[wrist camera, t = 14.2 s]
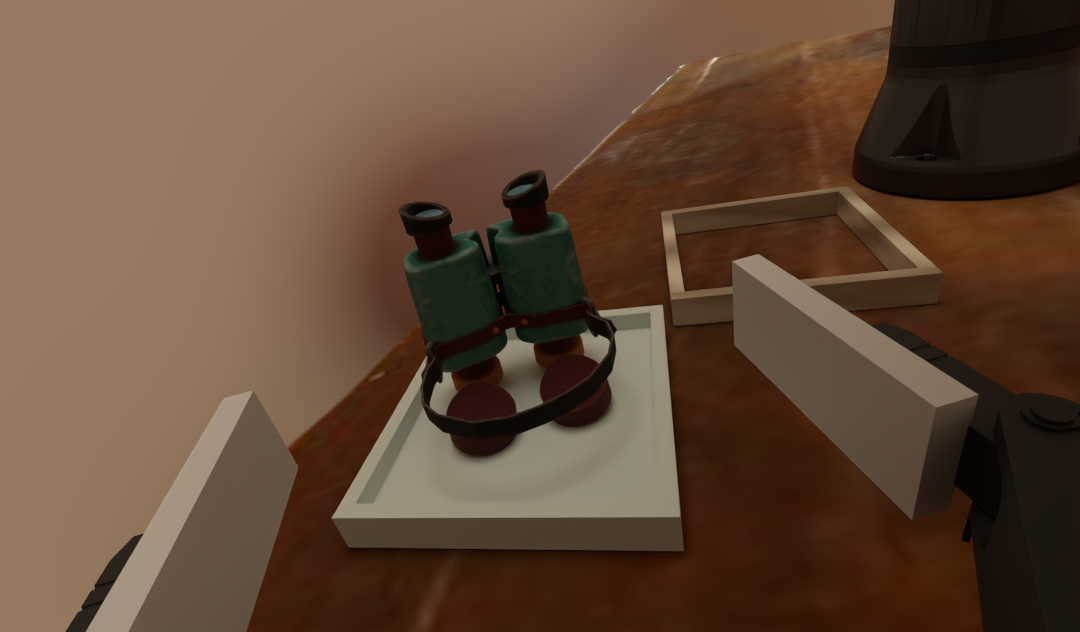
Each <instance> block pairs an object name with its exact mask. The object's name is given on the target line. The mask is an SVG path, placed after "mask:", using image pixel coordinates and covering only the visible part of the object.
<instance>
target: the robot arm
mask: <svg viewBox="0 0 1080 632" xmlns="http://www.w3.org/2000/svg"><path fill="white" fill-rule="evenodd" d="M852 172H853V175H854V177H855V178H856V179H857V180H859V181H860V182H862V183H864V184H866V185H868V186H871V187H874V188H877V189H880V190H884V191H888V192H893V193H899V194H905V195H913V196H923V197H937V198H984V197H1000V196H1010V195H1019V194H1026V193H1033V192H1038V191H1043V190H1048V189H1053V188H1056V187H1060V186H1063V185H1067V184H1070V183H1072V182H1075V181H1077V180H1079V179H1080V0H895V6H894V14H893V22H892V30H891V38H890V49H889V57H888V66H887V73H886V76H885V79H884V81H883V84H882V86H881V88H880V90H879V93H878V95H877V97H876V99H875V102H874V104H873V106H872V109H871V111H870V113H869V115H868V118H867V120H866V122H865V124H864V127H863V129H862V131H861V133H860V136H859V138H858V140H857V142H856V145H855V149H854V160H853V171H852ZM732 272H733V313H734V345H735V346H736V347H737V348H738V349H739V350H740V351H741V352H742V353H743V354H744V355H745V356H746V357H747V358H748V359H749V360H750V361H751V362H752V363H753V364H754V365H755V366H756V367H757V368H758V369H759V370H760V371H761V372H762V373H763V374H765V375H766V376H767V377H768V378H769V379H770V380H771V381H772V382H773V383H774V384H775V385H776V386H777V387H778V388H779V389H780V390H781V391H782V392H783V393H784V394H785V395H786V396H787V397H788V398H789V399H790V400H791V401H792V402H793V403H794V404H795V405H796V406H797V407H798V408H799V409H800V410H801V411H802V412H803V413H804V414H805V415H806V416H807V417H808V418H809V419H810V420H811V421H812V422H813V423H814V424H815V425H816V426H817V427H818V428H819V429H820V430H821V431H822V432H823V433H824V434H825V435H826V436H827V437H828V438H829V439H830V440H831V441H832V442H833V443H834V444H835V445H836V446H837V447H838V448H839V449H840V450H841V451H842V452H843V453H844V454H845V455H846V456H847V457H848V458H849V459H850V460H851V461H852V462H853V463H855V464H856V465H857V466H858V467H859V468H860V469H861V470H862V471H863V472H864V473H865V474H866V475H867V476H868V477H869V478H870V479H871V480H872V481H873V482H874V483H875V484H876V485H877V486H878V487H879V488H880V489H881V490H882V491H883V492H884V493H885V494H886V495H887V496H888V497H889V498H890V499H891V500H892V501H893V502H894V503H895V504H896V505H897V506H898V507H899V508H900V509H901V510H902V511H903V512H904V513H905V514H906V515H907V516H908V517H909V518H910V519H911V520H914V519H917V518H921V517H924V516H927V515H930V514H934V513H937V512H940V511H943V510H946V509H949V507H950V503H951V499H952V495H953V492H954V488H955V486H956V487H958V488H959V489H960V490H961V491H962V492H963V493H965V494H966V495H967V496H968V497H969V498H971V499H972V500H973V501H972V504H971V507H970V511H969V514H968V518H967V521H966V525H965V528H964V532H963V536H962V541H965V542H969V541H970V538H971V534H972V539H973V548H974V556H975V564H976V572H977V580H978V589H979V597H980V605H981V613H982V622H983V630H984V632H1080V404H1077V403H1075V402H1072V401H1070V400H1067V399H1064V398H1061V397H1056V396H1051V395H1046V394H1034V393H1023V394H1018V395H1015V394H1014V393H1012V392H1010V391H1009V390H1007V389H1005V388H1004V387H1002V386H1000V385H999V384H997V383H995V382H994V381H992V380H990V379H989V378H987V377H985V376H983V375H982V374H980V373H978V372H977V371H975V370H973V369H972V368H970V367H968V366H967V365H965V364H963V363H962V362H960V361H958V360H957V359H955V358H953V357H948V355H947V353H945V352H943V351H942V350H940V349H938V348H937V347H935V346H933V347H931V345H930V343H928V342H927V341H925V340H923V339H922V338H920V337H918V336H917V335H915V334H913V333H912V332H910V331H907V330H904V329H901V328H898V327H895V326H892V325H889V324H885V323H880V324H876V325H873V326H870V325H869V324H867V323H865V322H864V321H862V320H861V319H859V318H858V317H856V316H854V315H853V314H851V313H850V312H848V311H847V310H845V309H843V308H842V307H840V306H839V305H837V304H836V303H834V302H833V301H831V300H829V299H828V298H826V297H825V296H823V295H822V294H820V293H818V292H817V291H815V290H814V289H812V288H811V287H809V286H807V285H806V284H804V283H803V282H801V281H800V280H798V279H797V278H795V277H793V276H792V275H790V274H789V273H787V272H786V271H784V270H782V269H781V268H779V267H778V266H776V265H775V264H773V263H771V262H770V261H768V260H767V259H765V258H764V257H762V256H760V255H759V254H757V255H754V256H750V257H746V258H742V259H739V260H735V261H732ZM297 470H298V465H297V464H296V462H295V460H294V459H293V457H292V455H291V453H290V452H289V450H288V448H287V447H286V445H285V443H284V442H283V440H282V438H281V437H280V435H279V433H278V431H277V430H276V428H275V426H274V425H273V423H272V421H271V419H270V418H269V416H268V414H267V413H266V411H265V409H264V407H263V406H262V405H261V402H260V401H259V399H258V397H257V396H256V394H255V392H254V391H249V392H246V393H242V394H239V395H235V396H231V397H227V398H224V399H223V400H222V402H221V404H220V406H219V408H218V409H217V411H216V413H215V414H214V416H213V417H212V419H211V421H210V423H209V424H208V426H207V428H206V429H205V431H204V433H203V434H202V436H201V438H200V439H199V441H198V443H197V444H196V446H195V448H194V450H193V451H192V453H191V455H190V456H189V458H188V460H187V461H186V463H185V465H184V467H183V468H182V470H181V472H180V473H179V475H178V477H177V478H176V480H175V482H174V484H173V485H172V487H171V488H170V490H169V492H168V494H167V495H166V497H165V499H164V500H163V502H162V504H161V505H160V507H159V509H158V510H157V512H156V514H155V516H154V517H153V519H152V521H151V522H150V524H149V526H148V527H147V529H146V531H145V533H144V534H141V535H137V536H134V537H133V538H132V539H131V540H130V541H129V542H128V543H127V544H126V545H125V546H124V547H123V548H122V549H121V550H120V551H119V552H118V553H117V554H116V555H115V556H114V557H113V558H112V559H111V560H110V562H109V563H108V565H107V566H106V568H105V570H104V571H103V573H102V574H101V576H100V578H99V579H98V581H97V583H96V584H95V590H93V591H91V592H90V594H89V595H88V597H87V599H86V600H85V602H84V603H83V605H82V611H81V612H78V613H77V615H76V616H75V618H74V619H73V621H72V623H71V624H70V626H69V627H68V629H67V630H66V632H246V631H247V627H248V624H249V621H250V618H251V615H252V612H253V609H254V605H255V602H256V599H257V596H258V593H259V590H260V586H261V583H262V580H263V577H264V574H265V571H266V568H267V564H268V561H269V558H270V555H271V552H272V549H273V546H274V542H275V539H276V536H277V533H278V530H279V527H280V523H281V520H282V517H283V514H284V511H285V508H286V505H287V501H288V498H289V495H290V492H291V489H292V486H293V483H294V479H295V476H296V473H297Z"/></svg>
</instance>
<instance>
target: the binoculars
mask: <svg viewBox="0 0 1080 632" xmlns="http://www.w3.org/2000/svg"><path fill="white" fill-rule="evenodd" d="M501 196H502V200H503V204H504V206H505V207H507V208H509V209H510V211H511V216H512V219H510V220H506V221H502V222H499V223H495V224H492V225H489V226H488V227H487V237H488V242H489V247H490V252H491V254H489V255H486V252H485V249H484V247H483V243H482V240H481V238H480V235H479V233H478V231H477V230H475V229H474V230H469V231H466V232H462V233H458V234H454V235H451V231H450V228H449V225H450V224H451V222H452V217H451V213H450V210H449V209H448V208H447V207H445V206H443V205H441V204H437V203H432V202H414V203H408V204H405V205H403V206H401V207H400V208H399V213H400V216H401V219H402V221H403V224H404V227H405V229H406V232H407V234H409V235H410V236H414V239H415V242H416V244H417V247H418V248H416V249H414V250H412V251H411V252H410V253H409V254H407V255H406V257H405V258H404V269H405V274H406V278H407V281H408V285H409V287H410V291H411V294H412V297H413V301H414V304H415V307H416V310H417V314H418V316H419V320H420V323H421V326H422V327H421V332H422V337H423V340H422V344H423V345H424V346H426V348H425V352H426V355H427V358H426V365H425V368H424V370H423V372H422V374H421V377H422V383H421V386H420V390H421V403H422V406H423V408H424V410H425V413H426V415H427V417H428V419H429V421H431V422H432V423H433V424H434V425H435V426H436V427H438V428H439V429H440V430H441V431H442V432H444V433H448V434H450V437H451V441H452V442H453V444H454V446H455V447H456V448H457V449H459V450H460V451H462V452H464V453H465V454H469V455H472V456H487V455H491V454H494V453H497V452H499V451H501V450H503V449H505V448H506V447H507V446H508V445H510V443H511V442H512V441H513V440H514V438H515V436H516V435H517V434H520V433H523V432H525V431H528V430H531V429H534V428H536V427H539V426H542V425H544V424H547V423H549V422H551V421H553V420H554V421H555V422H556V423H558V424H560V425H563V426H566V427H581V426H584V425H588V424H590V423H592V422H594V421H596V420H597V419H598V418H600V417H601V416H602V415H603V414H604V413H605V412H606V410H607V409H608V407H609V405H610V402H611V398H612V391H611V388H610V385H609V382H608V379H607V378H608V376H609V375H610V374H611V372H612V371H613V366H614V361H615V356H616V343H615V336H614V335H615V333H616V331H617V329H616V327H615V326H614V324H613V322H612V321H611V320H610V319H606V318H603V317H601V316H600V314H599V313H598V311H597V309H595V306H594V303H593V301H592V300H591V299H589V298H590V294H589V293H588V291H587V289H586V287H585V285H584V283H583V280H582V276H581V271H580V267H579V263H578V258H577V254H576V250H575V246H574V241H573V237H572V233H571V230H570V227H569V224H568V222H567V220H566V218H565V217H564V216H563V215H561V214H559V213H547V210H546V204H545V201H546V200H547V199H548V197H549V193H548V188H547V182H546V176H545V172H544V171H542V170H534V171H529V172H527V173H525V174H522V175H520V176H519V177H517V178H516V179H514V180H513V181H511V182H510V183H509V184H508V185H507V186H506V187H505V188H504V190H503V191H502V194H501ZM496 284H498V286H499V290H500V292H497V288H496ZM501 306H504V308H505V312H506V314H505V315H504V314H503V311H502V307H501ZM509 328H515V332H516V335H517V337H518V338H519V340H521V341H523V342H527V343H534V345H533V349H534V354H535V359H536V362H537V364H538V365H540V366H541V367H543V368H546V370H545V372H544V374H543V376H542V379H541V383H540V390H539V392H540V397H541V399H542V401H543V403H542V404H540V405H538V406H535V407H532V408H530V409H527V410H524V411H521V412H519V413H517V410H516V403H515V401H514V399H513V397H512V396H511V395H510V394H509V393H508V392H507V391H506V390H505V389H503V388H502V387H500V386H498V384H499V382H500V381H501V379H502V377H503V374H504V373H503V369H502V366H501V363H500V360H499V358H498V357H497V356H496V355H497V354H498V353H500V352H501V351H502V350H503V349H504V348H505V347H506V345H507V341H508V340H507V334H506V331H505V330H507V329H509ZM588 329H589V330H590V332H591V333H592V335H593V336H594V337H598V335H600V336H602V337H605V338H607V339H608V340H609V342H610V344H609V348H608V353H607V355H606V356H605V357H604V358H603V359H602V361H601V362H600V363H598V362H597V361H595V360H593V359H591V358H589V357H586V356H584V353H585V352H584V346H583V342H582V337H581V336H580V334H582V333H584V332H586V331H587V330H588ZM443 372H446V373H448V372H451V377H452V380H453V383H454V386H455V389H456V390H457V391H458V393H456V395H455V396H454V397H453V399H452V400H451V402H450V404H449V406H448V409H447V412H446V415H442V414H438V413H437V412H435V411H434V410H433V409H432V408H430V400H431V397H432V393H433V390H434V386H435V384H436V383H437V382H438V383H442V381H443Z"/></svg>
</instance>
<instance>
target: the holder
mask: <svg viewBox="0 0 1080 632" xmlns="http://www.w3.org/2000/svg"><path fill="white" fill-rule="evenodd" d="M835 214H837V215H838V216H839V217H840V218H841V219H842V220H843V222H844V223H845V224H846V225H847V226H848V227H849V228H850V229H851V230H852V231H853V232H854V233H855V235H856V236H857V237H858V238H859V239H860V240H861V241H862V242H863V243H864V244H865V245H866V246H867V248H868V249H869V250H870V251H871V252H872V253H873V254H874V255H875V256H876V257H877V258H878V259H879V261H880V262H881V263H882V264H883V265H884V266H885V267H886V268H887V269H888V270H889V271H883V272H874V273H864V274H854V275H844V276H834V277H824V278H814V279H804V280H800V281H801V282H803V283H804V284H806V285H807V286H809V287H811V288H812V289H814V290H815V291H817V292H818V293H820V294H822V295H823V296H825V297H826V298H828V299H829V300H831V301H833V302H834V303H836V304H837V305H839V306H840V307H842V308H843V309H845V310H847V311H855V310H866V309H878V308H889V307H901V306H912V305H924V304H935V303H938V298H939V293H940V288H941V283H942V277H943V272H942V271H941V270H940V269H938V268H937V267H936V266H935V265H934V264H933V263H932V262H931V261H929V260H928V259H927V258H926V257H925V256H924V255H923V254H922V253H921V252H919V251H918V250H917V249H916V248H915V247H914V246H913V245H912V244H911V243H909V242H908V241H907V240H906V239H905V238H904V237H903V236H902V235H901V234H899V233H898V232H897V231H896V230H895V229H894V228H893V227H892V226H891V225H889V224H888V223H887V222H886V221H885V220H884V219H883V218H882V217H881V216H879V215H878V214H877V213H876V212H875V211H874V210H873V209H872V208H871V207H869V206H868V205H867V204H866V203H865V202H864V201H863V200H862V199H860V198H859V197H858V196H857V195H856V194H855V193H854V192H853V191H852V190H850V189H849V188H848V187H847V186H845V187H838V188H831V189H824V190H816V191H809V192H802V193H794V194H787V195H780V196H773V197H765V198H758V199H751V200H743V201H736V202H729V203H722V204H714V205H707V206H700V207H692V208H685V209H678V210H671V211H663V212H661V217H662V227H663V237H664V246H665V255H666V264H667V273H668V282H669V291H670V299H671V308H672V317H673V326H681V325H693V324H705V323H716V322H728V321H734V313H733V287H725V288H715V289H706V290H696V291H686V292H684V286H683V280H682V274H681V268H680V261H679V255H678V249H677V243H676V237H675V235H677V234H685V233H693V232H701V231H709V230H717V229H725V228H732V227H740V226H748V225H756V224H764V223H772V222H780V221H788V220H796V219H804V218H812V217H819V216H827V215H835Z"/></svg>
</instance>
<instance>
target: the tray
mask: <svg viewBox="0 0 1080 632" xmlns="http://www.w3.org/2000/svg"><path fill="white" fill-rule="evenodd" d="M598 313H599V314H600V316H601V317H603V318H606V319H610V320H611V321H612V322H613V324H614V326H615V327H616V329H617V331H616V333H615V335H614V336H615V343H616V356H615V361H614V366H613V371H612V372H611V374H610V375H609V376H608V378H607V379H608V382H609V385H610V388H611V391H612V398H611V402H610V405H609V407H608V409H607V410H606V412H605V413H604V414H603V415H602V416H601V417H600V418H598V419H597V420H596V421H594V422H592V423H590V424H588V425H584V426H581V427H566V426H563V425H560V424H558V423H556V422H555V421H554V420H553V421H551V422H549V423H547V424H544V425H542V426H539V427H536V428H534V429H531V430H528V431H525V432H523V433H520V434H517V435H516V436H515V438H514V440H513V441H512V442H511V443H510V445H508V446H507V447H506V448H505V449H503V450H501V451H499V452H497V453H494V454H491V455H487V456H472V455H469V454H465V453H464V452H462V451H460V450H459V449H457V448H456V447H455V446H454V444H453V442H452V441H451V437H450V434H448V433H444V432H442V431H441V430H440V429H439V428H438V427H436V426H435V425H434V424H433V423H432V422H431V421H429V419H428V417H427V415H426V413H425V410H424V408H423V406H422V403H421V390H420V386H421V383H422V377H421V374H422V372H423V370H424V368H425V365H426V358H427V356H426V358H425V360H424V362H423V363H422V365H421V367H420V368H419V370H418V372H417V373H416V375H415V377H414V379H413V380H412V382H411V384H410V385H409V387H408V389H407V391H406V392H405V394H404V396H403V397H402V399H401V401H400V403H399V404H398V406H397V408H396V409H395V411H394V413H393V415H392V416H391V418H390V420H389V421H388V423H387V425H386V426H385V428H384V430H383V432H382V433H381V435H380V437H379V438H378V440H377V442H376V444H375V445H374V447H373V449H372V450H371V452H370V454H369V456H368V457H367V459H366V461H365V462H364V464H363V466H362V467H361V469H360V471H359V473H358V474H357V476H356V478H355V479H354V481H353V483H352V485H351V486H350V488H349V490H348V491H347V493H346V495H345V497H344V498H343V500H342V502H341V503H340V505H339V507H338V509H337V510H336V512H335V514H334V515H333V517H332V519H333V521H334V523H335V525H336V526H337V528H338V530H339V531H340V533H341V535H342V537H343V538H344V540H345V542H346V543H347V545H348V547H359V548H446V549H533V550H619V551H684V545H683V533H682V522H681V510H680V498H679V487H678V475H677V463H676V452H675V440H674V428H673V417H672V405H671V393H670V382H669V370H668V358H667V346H666V335H665V324H664V314H663V305H656V306H646V307H635V308H625V309H615V310H604V311H598ZM505 331H506V334H507V340H508V341H507V345H506V347H505V348H504V349H503V350H502V351H501V352H500V353H498V354H497V355H496V356H497V357H498V358H499V360H500V363H501V366H502V369H503V373H504V374H503V377H502V379H501V381H500V382H499V384H498V386H500V387H502V388H503V389H505V390H506V391H507V392H508V393H509V394H510V395H511V396H512V397H513V399H514V401H515V403H516V410H517V413H519V412H521V411H524V410H527V409H530V408H532V407H535V406H538V405H540V404H542V403H543V401H542V399H541V397H540V392H539V390H540V383H541V379H542V376H543V374H544V372H545V370H546V368H543V367H541V366H540V365H538V364H537V362H536V359H535V354H534V349H533V345H534V343H527V342H523V341H521V340H519V338H518V337H517V335H516V332H515V328H509V329H507V330H505ZM580 336H581V337H582V342H583V346H584V352H585V353H584V356H586V357H589V358H591V359H593V360H595V361H597V362H598V363H600V362H601V361H602V359H603V358H604V357H605V356H606V355H607V353H608V348H609V344H610V342H609V340H608V339H607V338H605V337H602V336H600V335H598V337H594V336H593V335H592V333H591V332H590V330H589V329H588V330H587V331H586V332H584V333H582V334H580ZM456 393H458V391H457V390H456V389H455V386H454V383H453V380H452V377H451V372H448V373H446V372H443V381H442V383H438V382H437V383H436V384H435V386H434V390H433V393H432V397H431V400H430V408H432V409H433V410H434V411H435V412H437V413H438V414H442V415H446V412H447V409H448V406H449V404H450V402H451V400H452V399H453V397H454V396H455V395H456Z"/></svg>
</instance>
